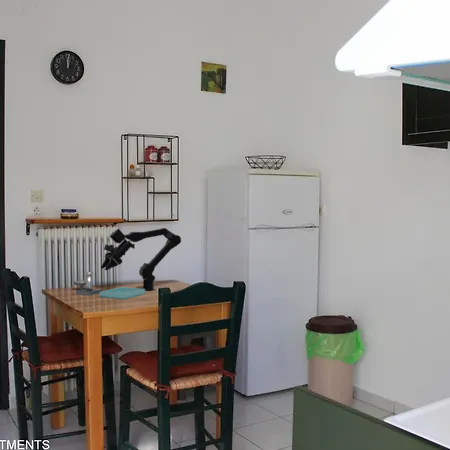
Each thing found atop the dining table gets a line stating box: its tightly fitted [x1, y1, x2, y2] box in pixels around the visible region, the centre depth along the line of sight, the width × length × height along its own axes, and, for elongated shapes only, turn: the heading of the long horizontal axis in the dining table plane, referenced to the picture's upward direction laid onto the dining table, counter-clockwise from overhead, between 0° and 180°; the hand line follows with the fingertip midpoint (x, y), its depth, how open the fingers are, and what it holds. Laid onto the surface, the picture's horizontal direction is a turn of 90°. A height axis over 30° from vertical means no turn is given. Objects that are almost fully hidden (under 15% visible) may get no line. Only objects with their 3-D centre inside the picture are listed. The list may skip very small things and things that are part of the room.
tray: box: [99, 286, 146, 300], centre depth 315 cm, size 20×16×3 cm
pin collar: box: [75, 288, 103, 296], centre depth 322 cm, size 10×10×2 cm
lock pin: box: [84, 271, 94, 291], centre depth 321 cm, size 4×4×12 cm
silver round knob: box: [73, 279, 86, 290], centre depth 336 cm, size 9×9×5 cm
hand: (103, 269), depth 325 cm, fingers open, 9 cm apart
